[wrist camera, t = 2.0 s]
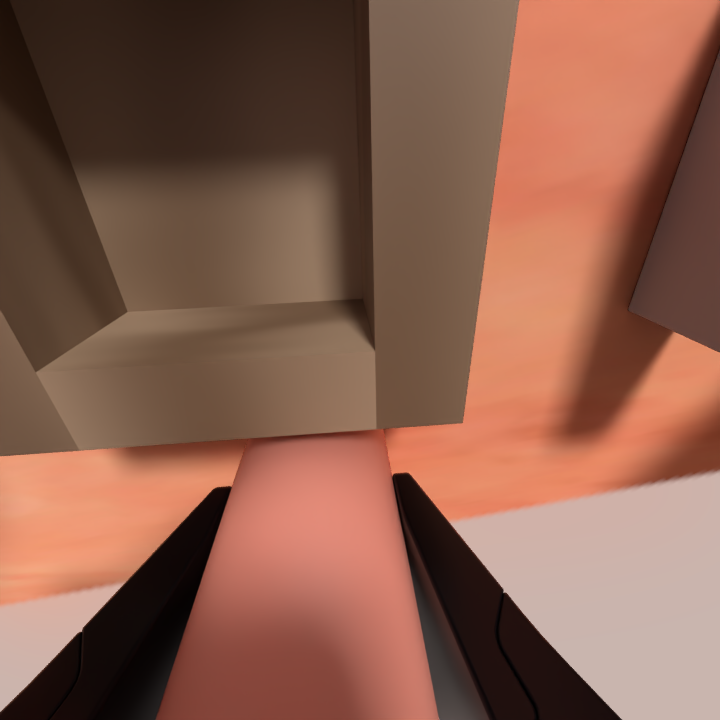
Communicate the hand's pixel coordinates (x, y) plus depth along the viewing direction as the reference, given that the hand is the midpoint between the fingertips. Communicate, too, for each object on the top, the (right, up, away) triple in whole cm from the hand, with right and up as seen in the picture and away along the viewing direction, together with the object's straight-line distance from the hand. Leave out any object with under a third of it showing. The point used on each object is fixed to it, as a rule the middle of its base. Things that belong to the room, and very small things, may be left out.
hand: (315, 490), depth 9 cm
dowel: (0, +1, +3) cm, 3 cm away
